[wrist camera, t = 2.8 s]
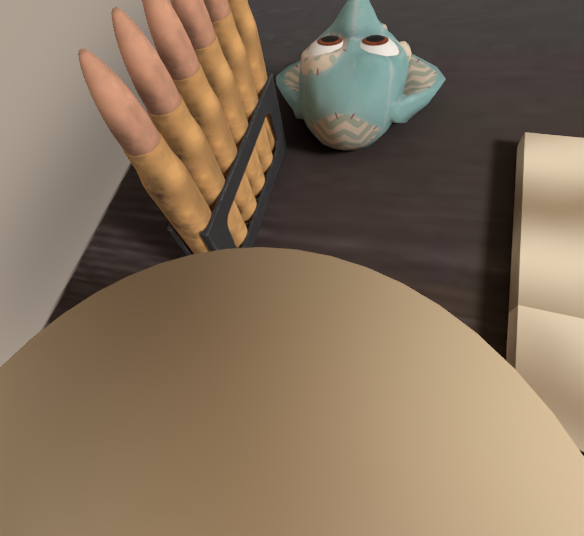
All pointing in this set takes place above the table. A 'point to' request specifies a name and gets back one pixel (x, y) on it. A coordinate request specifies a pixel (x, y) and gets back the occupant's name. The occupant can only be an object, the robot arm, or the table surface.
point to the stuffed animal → (357, 81)
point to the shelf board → (549, 275)
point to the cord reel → (275, 412)
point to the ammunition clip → (195, 117)
